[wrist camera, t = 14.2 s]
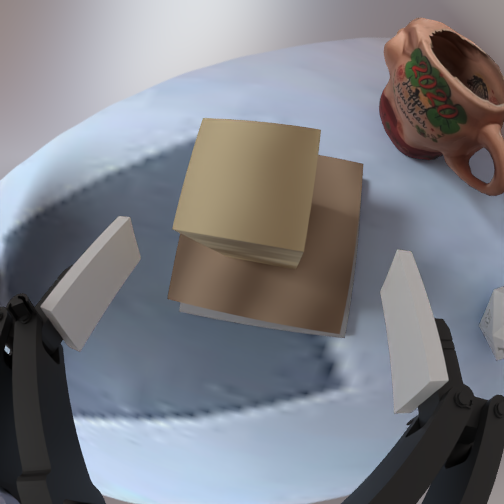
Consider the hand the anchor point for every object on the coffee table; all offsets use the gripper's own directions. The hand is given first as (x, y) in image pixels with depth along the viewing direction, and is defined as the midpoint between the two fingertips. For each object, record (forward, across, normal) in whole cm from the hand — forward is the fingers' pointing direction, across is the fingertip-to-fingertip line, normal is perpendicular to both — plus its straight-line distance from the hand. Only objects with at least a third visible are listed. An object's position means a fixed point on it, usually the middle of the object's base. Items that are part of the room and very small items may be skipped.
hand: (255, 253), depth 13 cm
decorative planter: (+22, +16, +2) cm, 28 cm away
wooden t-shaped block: (+7, 0, -4) cm, 8 cm away
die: (+8, +28, -12) cm, 31 cm away
